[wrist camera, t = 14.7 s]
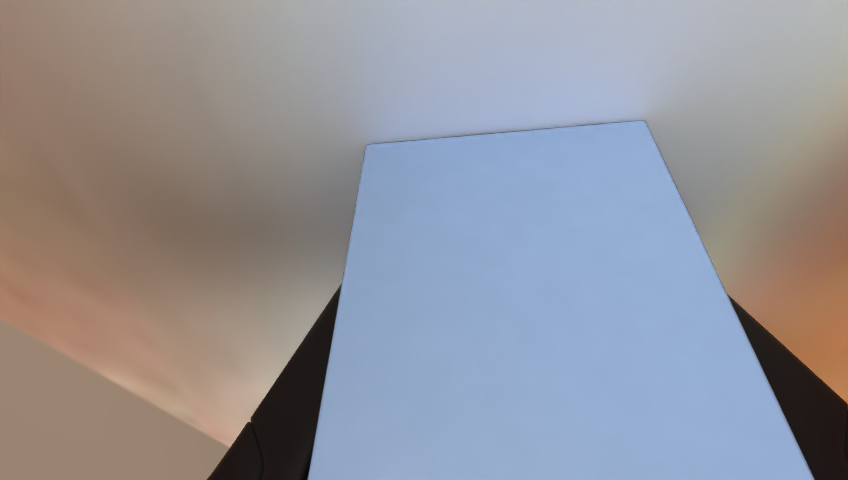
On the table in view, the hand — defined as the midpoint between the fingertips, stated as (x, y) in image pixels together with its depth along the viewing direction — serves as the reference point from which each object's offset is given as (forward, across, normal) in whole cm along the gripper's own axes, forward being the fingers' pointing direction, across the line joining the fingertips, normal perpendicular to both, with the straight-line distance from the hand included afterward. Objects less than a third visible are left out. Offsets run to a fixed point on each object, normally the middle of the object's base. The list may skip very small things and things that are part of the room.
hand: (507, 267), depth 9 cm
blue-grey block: (+1, 0, 0) cm, 1 cm away
